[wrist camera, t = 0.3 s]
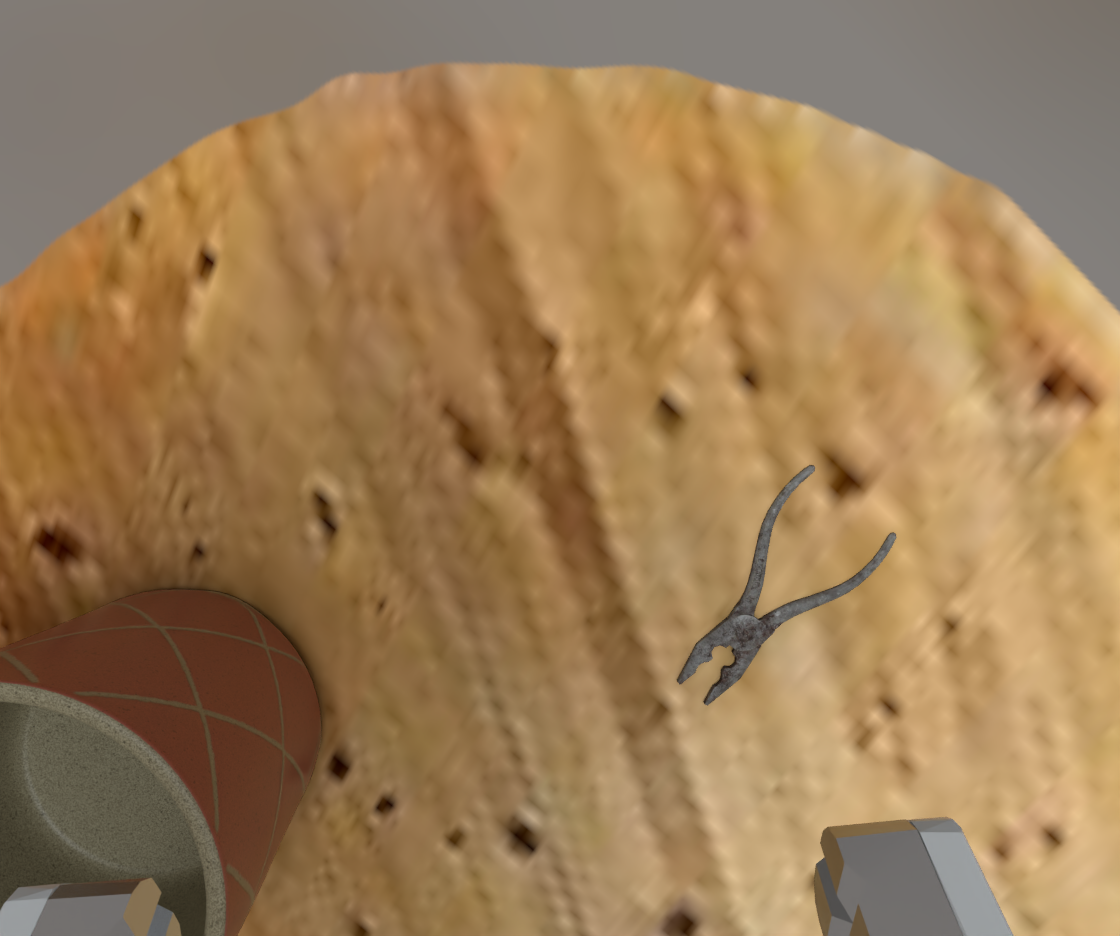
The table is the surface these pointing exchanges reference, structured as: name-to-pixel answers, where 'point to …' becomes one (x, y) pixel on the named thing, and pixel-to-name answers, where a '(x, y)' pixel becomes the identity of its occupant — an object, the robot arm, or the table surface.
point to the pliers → (741, 622)
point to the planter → (155, 752)
